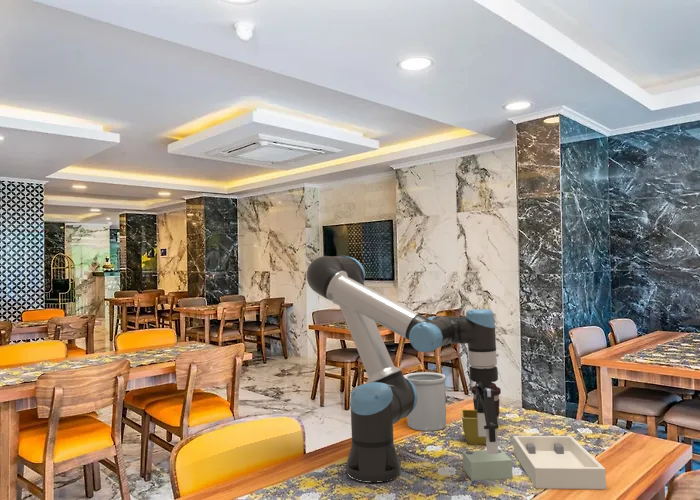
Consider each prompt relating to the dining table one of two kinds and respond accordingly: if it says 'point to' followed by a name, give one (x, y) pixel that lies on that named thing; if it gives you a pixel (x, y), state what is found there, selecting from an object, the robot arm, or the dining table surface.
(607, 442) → the dining table surface
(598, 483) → the tray
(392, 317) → the robot arm
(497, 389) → the coffee cup
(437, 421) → the utensil holder
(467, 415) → the flower pot
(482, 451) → the dotted green block
